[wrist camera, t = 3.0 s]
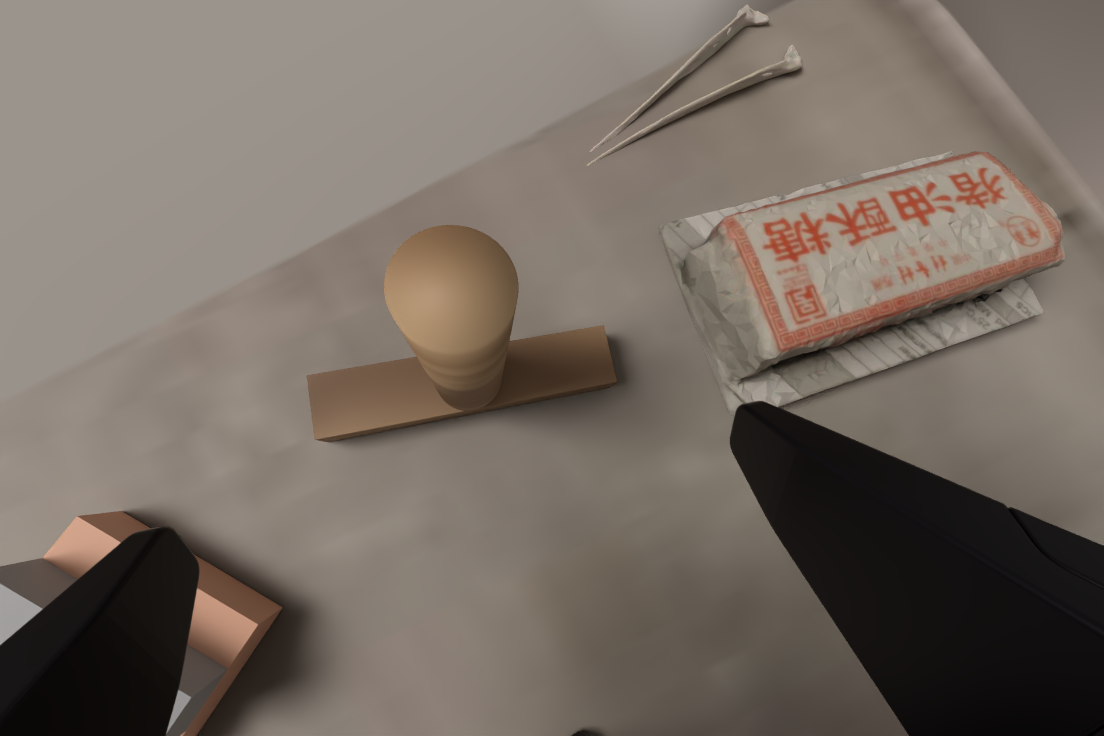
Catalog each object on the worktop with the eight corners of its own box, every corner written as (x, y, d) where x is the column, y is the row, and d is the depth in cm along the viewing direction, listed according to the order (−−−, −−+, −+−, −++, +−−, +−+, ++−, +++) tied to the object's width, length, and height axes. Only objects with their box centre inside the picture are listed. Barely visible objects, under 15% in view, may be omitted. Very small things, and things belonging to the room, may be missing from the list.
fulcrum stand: (282, 607, 18) (226, 646, 14) (190, 743, 17) (101, 828, 13) (121, 511, 18) (20, 522, 14) (17, 641, 16) (-127, 694, 13)
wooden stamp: (607, 389, 21) (744, 301, 10) (328, 443, 19) (111, 407, 8) (594, 334, 22) (711, 192, 11) (320, 381, 20) (105, 266, 9)
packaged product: (788, 413, 18) (691, 178, 19) (725, 425, 22) (651, 235, 24) (1132, 290, 21) (1025, 99, 23) (1013, 323, 26) (933, 163, 27)
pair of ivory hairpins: (745, 16, 28) (763, -17, 26) (797, 76, 27) (820, 48, 25) (508, 175, 25) (508, 152, 23) (563, 245, 25) (569, 227, 23)
